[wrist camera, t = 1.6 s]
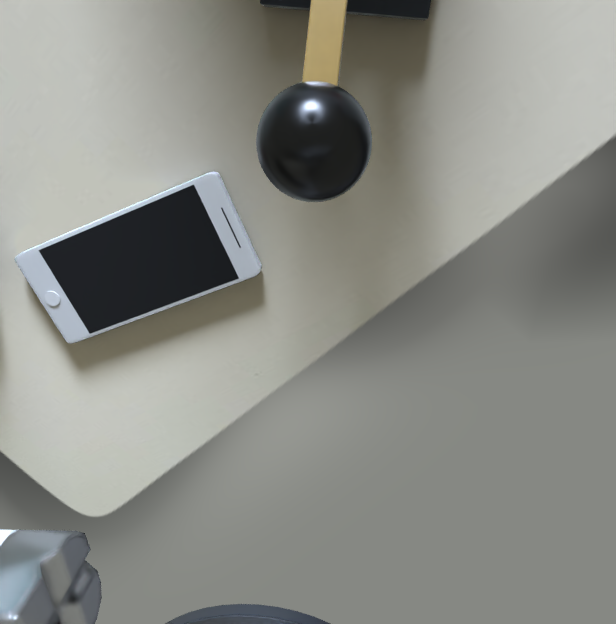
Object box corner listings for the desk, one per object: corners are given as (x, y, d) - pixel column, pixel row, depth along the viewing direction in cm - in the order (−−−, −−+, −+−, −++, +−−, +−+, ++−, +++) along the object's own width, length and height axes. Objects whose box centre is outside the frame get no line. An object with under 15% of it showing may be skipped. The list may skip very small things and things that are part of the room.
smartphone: (18, 253, 38) (10, 257, 37) (217, 168, 34) (213, 171, 33) (74, 340, 40) (67, 346, 39) (264, 269, 37) (262, 274, 36)
